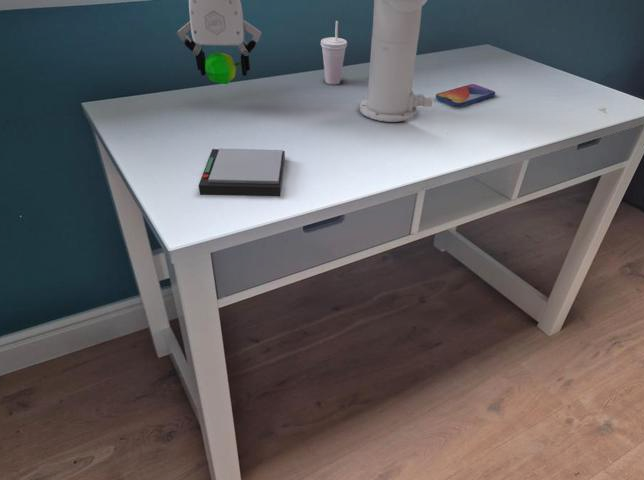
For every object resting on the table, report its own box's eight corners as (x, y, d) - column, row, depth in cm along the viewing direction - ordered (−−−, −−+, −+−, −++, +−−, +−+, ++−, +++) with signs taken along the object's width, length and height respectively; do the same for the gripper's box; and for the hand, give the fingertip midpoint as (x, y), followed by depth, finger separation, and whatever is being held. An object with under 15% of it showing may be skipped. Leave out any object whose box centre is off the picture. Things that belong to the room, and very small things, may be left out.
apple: (202, 48, 99) (241, 40, 104) (195, 64, 105) (232, 55, 109) (218, 82, 100) (256, 72, 104) (210, 95, 105) (247, 86, 110)
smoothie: (342, 87, 122) (345, 25, 113) (317, 84, 123) (317, 23, 114) (347, 79, 127) (350, 19, 118) (323, 76, 128) (324, 16, 119)
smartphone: (496, 96, 123) (497, 92, 122) (457, 108, 115) (458, 104, 114) (472, 87, 127) (473, 83, 126) (433, 98, 119) (434, 94, 118)
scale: (284, 159, 92) (284, 147, 90) (280, 196, 82) (279, 183, 80) (213, 158, 91) (211, 145, 89) (199, 194, 81) (197, 181, 79)
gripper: (160, -19, 91) (179, 79, 102) (256, -17, 92) (264, 80, 103) (170, -26, 97) (186, 67, 108) (260, -25, 97) (267, 68, 108)
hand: (224, 73), depth 105 cm, fingers closed on apple, 8 cm apart
